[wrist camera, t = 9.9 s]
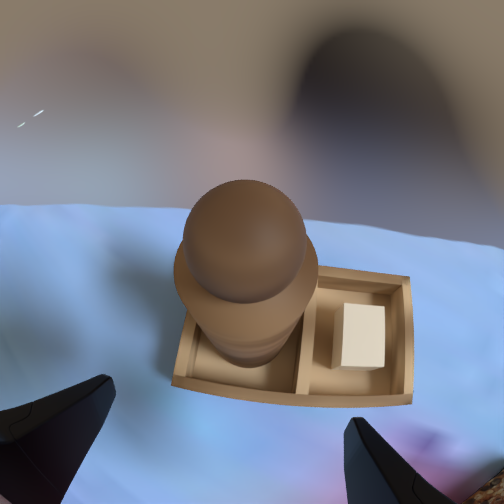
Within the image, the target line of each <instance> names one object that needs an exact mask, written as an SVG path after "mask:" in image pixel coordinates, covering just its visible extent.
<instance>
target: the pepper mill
mask: <svg viewBox="0 0 504 504" xmlns="http://www.w3.org/2000/svg"><path fill="white" fill-rule="evenodd" d="M174 280H175V285H176V289H177V292H178V294H179V296H180V298H181V300H182V302H183V304H184V305H185V307H186V308H187V309H188V311H189V312H190V314H191V315H192V317H193V318H194V319H195V321H196V322H197V324H198V325H199V326H200V328H201V329H202V331H203V332H204V333H205V335H206V336H207V337H208V339H209V340H210V341H211V343H212V344H213V345H214V347H215V348H216V349H217V351H218V352H219V353H220V355H221V356H222V357H223V358H224V359H225V360H226V361H228V362H229V363H231V364H233V365H235V366H238V367H241V368H257V367H261V366H263V365H265V364H267V363H269V362H270V361H272V360H273V359H274V358H275V357H276V356H277V355H278V354H279V352H280V351H281V349H282V347H283V346H284V344H285V342H286V341H287V339H288V337H289V336H290V334H291V332H292V331H293V329H294V327H295V326H296V324H297V322H298V321H299V319H300V317H301V316H302V314H303V312H304V310H305V309H306V307H307V305H308V303H309V301H310V300H311V298H312V296H313V294H314V291H315V288H316V285H317V280H318V259H317V255H316V252H315V249H314V247H313V244H312V242H311V241H310V239H309V237H308V236H307V234H306V229H305V225H304V222H303V219H302V217H301V215H300V213H299V211H298V209H297V208H296V206H295V205H294V203H293V202H292V201H291V200H290V199H289V198H288V197H287V196H286V195H285V194H284V193H283V192H281V191H280V190H278V189H276V188H275V187H273V186H271V185H268V184H266V183H263V182H259V181H255V180H235V181H230V182H227V183H224V184H222V185H219V186H217V187H215V188H213V189H211V190H210V191H209V192H207V193H206V194H205V195H203V196H202V198H200V200H199V201H198V202H197V203H196V204H195V205H194V207H193V208H192V210H191V212H190V214H189V216H188V218H187V220H186V224H185V227H184V233H183V240H182V242H181V244H180V246H179V248H178V250H177V253H176V257H175V262H174Z"/></svg>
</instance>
